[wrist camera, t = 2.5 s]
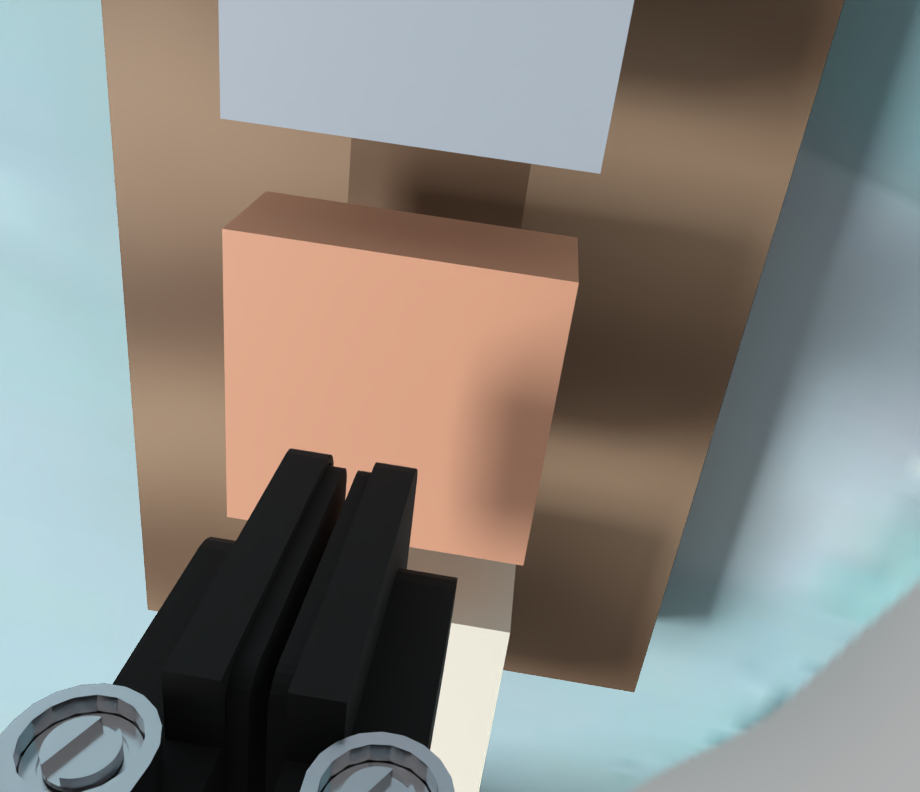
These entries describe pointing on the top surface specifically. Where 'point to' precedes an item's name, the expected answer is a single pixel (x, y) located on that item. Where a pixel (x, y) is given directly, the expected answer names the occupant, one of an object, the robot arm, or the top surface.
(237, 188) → the walnut board
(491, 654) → the cream key
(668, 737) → the top surface
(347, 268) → the terracotta key
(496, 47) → the slate key
